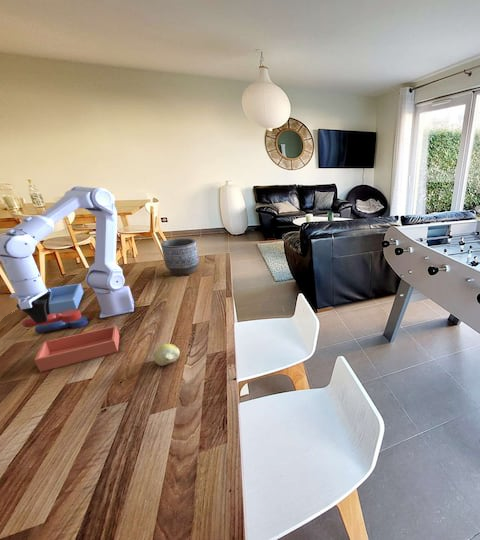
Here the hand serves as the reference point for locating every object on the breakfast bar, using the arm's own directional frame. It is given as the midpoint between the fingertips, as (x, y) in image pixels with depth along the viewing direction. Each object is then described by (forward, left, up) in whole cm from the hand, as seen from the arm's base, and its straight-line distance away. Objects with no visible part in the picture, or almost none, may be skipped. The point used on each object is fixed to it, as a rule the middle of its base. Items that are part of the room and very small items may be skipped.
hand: (43, 319), depth 84 cm
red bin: (-8, +10, -8) cm, 15 cm away
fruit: (-28, +26, -8) cm, 39 cm away
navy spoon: (-1, -9, -8) cm, 12 cm away
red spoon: (-2, 0, -1) cm, 2 cm away
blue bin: (+2, -30, -8) cm, 31 cm away
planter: (-39, -44, -8) cm, 59 cm away
